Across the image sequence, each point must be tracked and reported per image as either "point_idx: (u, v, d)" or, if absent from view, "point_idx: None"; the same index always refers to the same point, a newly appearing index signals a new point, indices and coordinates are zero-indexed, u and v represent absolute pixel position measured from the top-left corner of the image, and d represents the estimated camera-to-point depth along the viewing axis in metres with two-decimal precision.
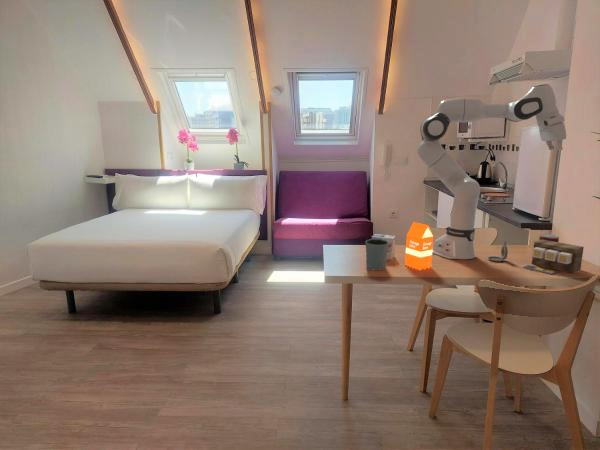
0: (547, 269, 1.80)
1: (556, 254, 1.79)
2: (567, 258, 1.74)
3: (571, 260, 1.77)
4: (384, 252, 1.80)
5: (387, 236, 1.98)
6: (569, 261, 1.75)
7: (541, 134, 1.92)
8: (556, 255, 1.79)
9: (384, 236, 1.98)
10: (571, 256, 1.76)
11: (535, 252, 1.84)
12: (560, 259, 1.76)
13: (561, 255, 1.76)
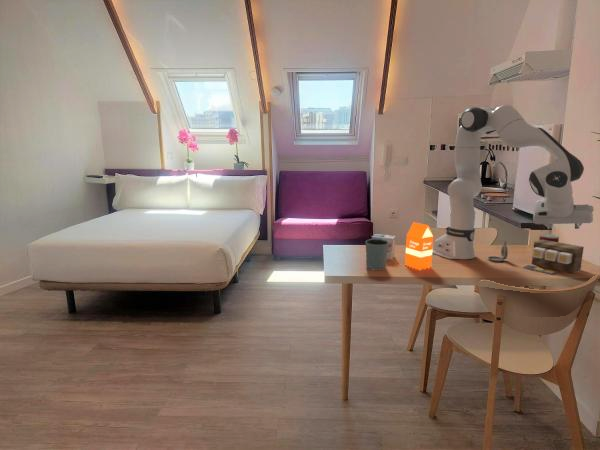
0: (547, 269, 1.80)
1: (556, 254, 1.79)
2: (567, 258, 1.74)
3: (571, 260, 1.77)
4: (384, 252, 1.80)
5: (387, 236, 1.98)
6: (569, 261, 1.75)
7: None
8: (556, 255, 1.79)
9: (384, 236, 1.98)
10: (571, 256, 1.76)
11: (535, 252, 1.84)
12: (560, 259, 1.76)
13: (561, 255, 1.76)
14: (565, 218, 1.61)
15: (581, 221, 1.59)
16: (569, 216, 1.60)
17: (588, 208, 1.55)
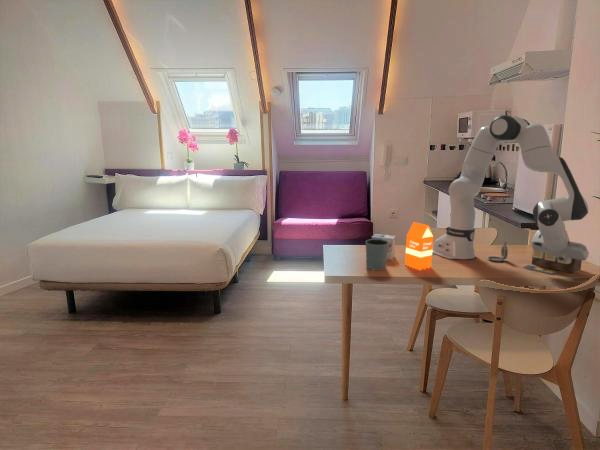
0: (547, 269, 1.80)
1: None
2: (567, 258, 1.74)
3: (571, 260, 1.77)
4: (384, 252, 1.80)
5: (387, 236, 1.98)
6: (569, 261, 1.76)
7: None
8: None
9: (384, 236, 1.98)
10: None
11: (535, 252, 1.84)
12: None
13: None
14: (560, 251, 1.69)
15: (575, 257, 1.66)
16: (564, 250, 1.67)
17: (581, 247, 1.61)
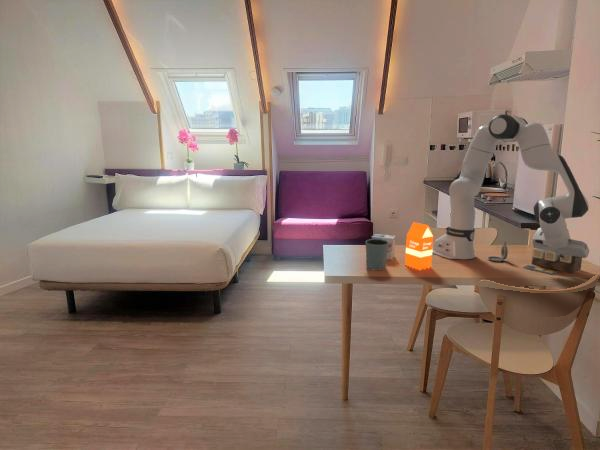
0: (547, 269, 1.80)
1: (556, 254, 1.79)
2: (569, 257, 1.76)
3: None
4: (384, 252, 1.80)
5: (387, 236, 1.98)
6: (571, 260, 1.77)
7: None
8: (556, 255, 1.79)
9: (384, 236, 1.98)
10: None
11: (535, 252, 1.84)
12: (562, 258, 1.78)
13: None
14: (561, 249, 1.70)
15: (576, 255, 1.67)
16: (565, 248, 1.68)
17: (582, 245, 1.62)
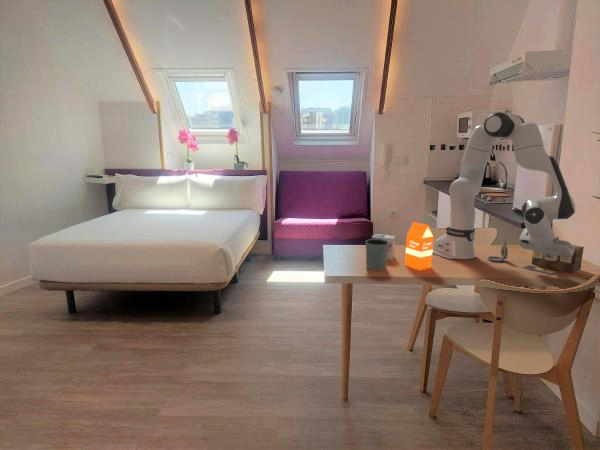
0: (547, 269, 1.80)
1: None
2: None
3: None
4: (384, 252, 1.80)
5: (387, 236, 1.98)
6: (571, 260, 1.77)
7: None
8: (557, 255, 1.79)
9: (384, 236, 1.98)
10: None
11: (535, 252, 1.84)
12: (562, 258, 1.78)
13: None
14: (547, 249, 1.73)
15: (561, 254, 1.70)
16: (550, 248, 1.71)
17: (566, 244, 1.65)
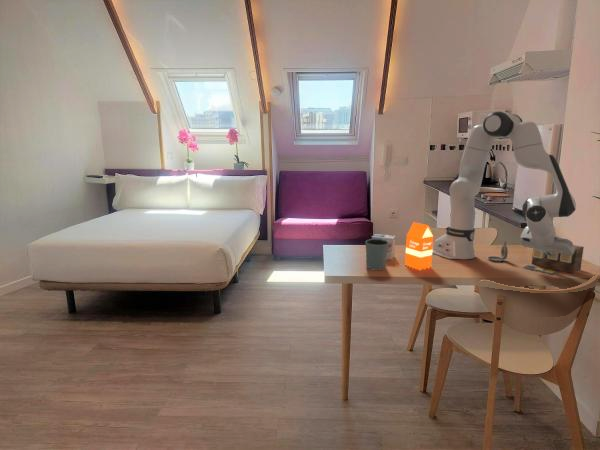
0: (547, 269, 1.80)
1: (558, 253, 1.80)
2: (569, 257, 1.76)
3: None
4: (384, 252, 1.80)
5: (387, 236, 1.98)
6: (571, 260, 1.77)
7: None
8: (558, 254, 1.81)
9: (384, 236, 1.98)
10: None
11: (535, 252, 1.84)
12: (562, 258, 1.78)
13: (563, 254, 1.77)
14: (548, 247, 1.74)
15: (562, 252, 1.71)
16: (551, 246, 1.72)
17: (567, 243, 1.66)
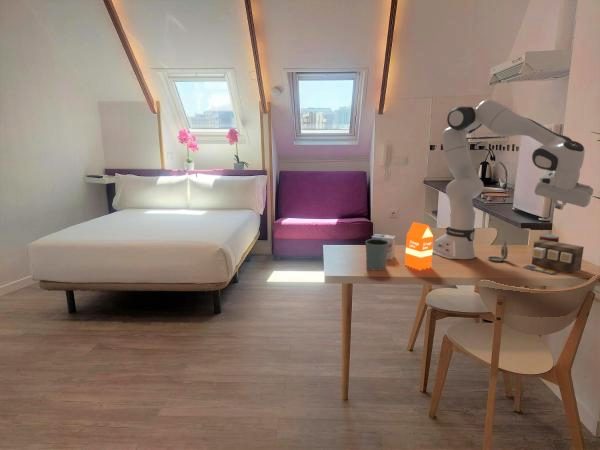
0: (547, 269, 1.80)
1: (558, 253, 1.80)
2: (569, 257, 1.76)
3: None
4: (384, 252, 1.80)
5: (387, 236, 1.98)
6: (571, 260, 1.77)
7: None
8: (558, 254, 1.81)
9: (384, 236, 1.98)
10: None
11: (535, 252, 1.84)
12: (562, 258, 1.78)
13: (563, 254, 1.77)
14: (564, 194, 1.68)
15: (576, 202, 1.66)
16: (568, 193, 1.67)
17: (588, 190, 1.62)
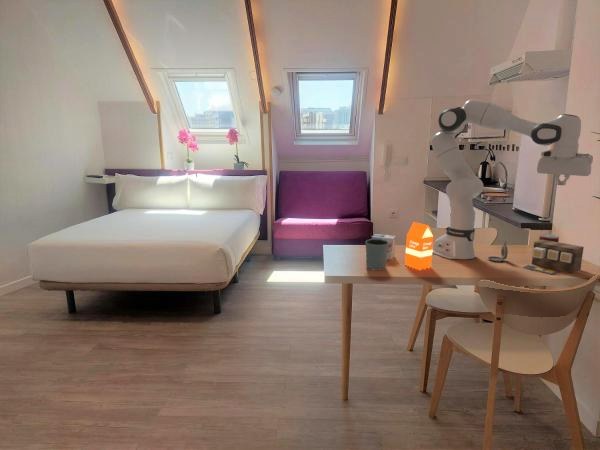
0: (547, 269, 1.80)
1: (558, 253, 1.80)
2: (569, 257, 1.76)
3: None
4: (384, 252, 1.80)
5: (387, 236, 1.98)
6: (571, 260, 1.77)
7: None
8: (558, 254, 1.81)
9: (384, 236, 1.98)
10: None
11: (535, 252, 1.84)
12: (562, 258, 1.78)
13: (563, 254, 1.77)
14: (565, 166, 1.75)
15: (578, 172, 1.72)
16: (569, 164, 1.74)
17: (588, 157, 1.69)
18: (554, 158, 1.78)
